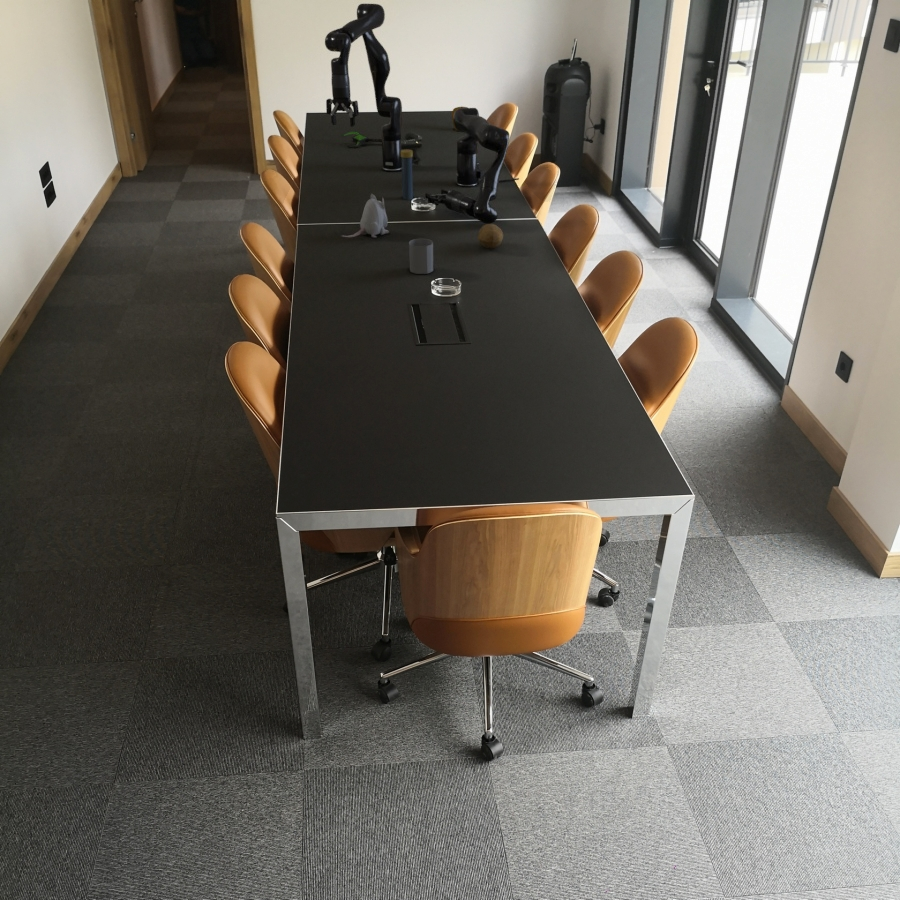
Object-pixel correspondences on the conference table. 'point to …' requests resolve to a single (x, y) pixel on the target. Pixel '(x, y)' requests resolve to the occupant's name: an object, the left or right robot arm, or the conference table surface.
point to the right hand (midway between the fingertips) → (433, 193)
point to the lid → (406, 153)
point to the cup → (421, 256)
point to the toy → (373, 218)
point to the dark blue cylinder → (407, 178)
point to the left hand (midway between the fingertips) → (343, 125)
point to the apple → (453, 115)
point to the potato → (490, 236)
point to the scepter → (360, 139)
